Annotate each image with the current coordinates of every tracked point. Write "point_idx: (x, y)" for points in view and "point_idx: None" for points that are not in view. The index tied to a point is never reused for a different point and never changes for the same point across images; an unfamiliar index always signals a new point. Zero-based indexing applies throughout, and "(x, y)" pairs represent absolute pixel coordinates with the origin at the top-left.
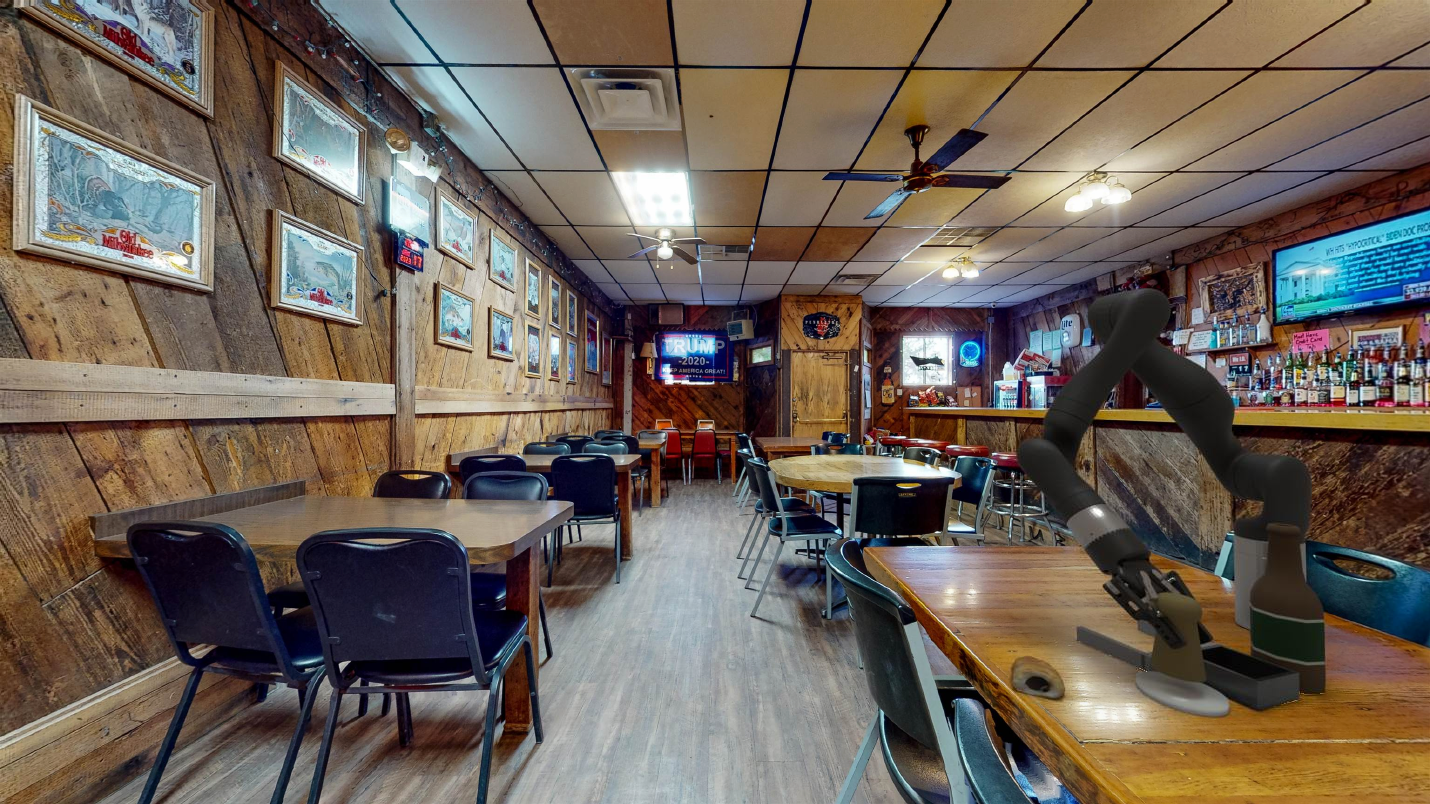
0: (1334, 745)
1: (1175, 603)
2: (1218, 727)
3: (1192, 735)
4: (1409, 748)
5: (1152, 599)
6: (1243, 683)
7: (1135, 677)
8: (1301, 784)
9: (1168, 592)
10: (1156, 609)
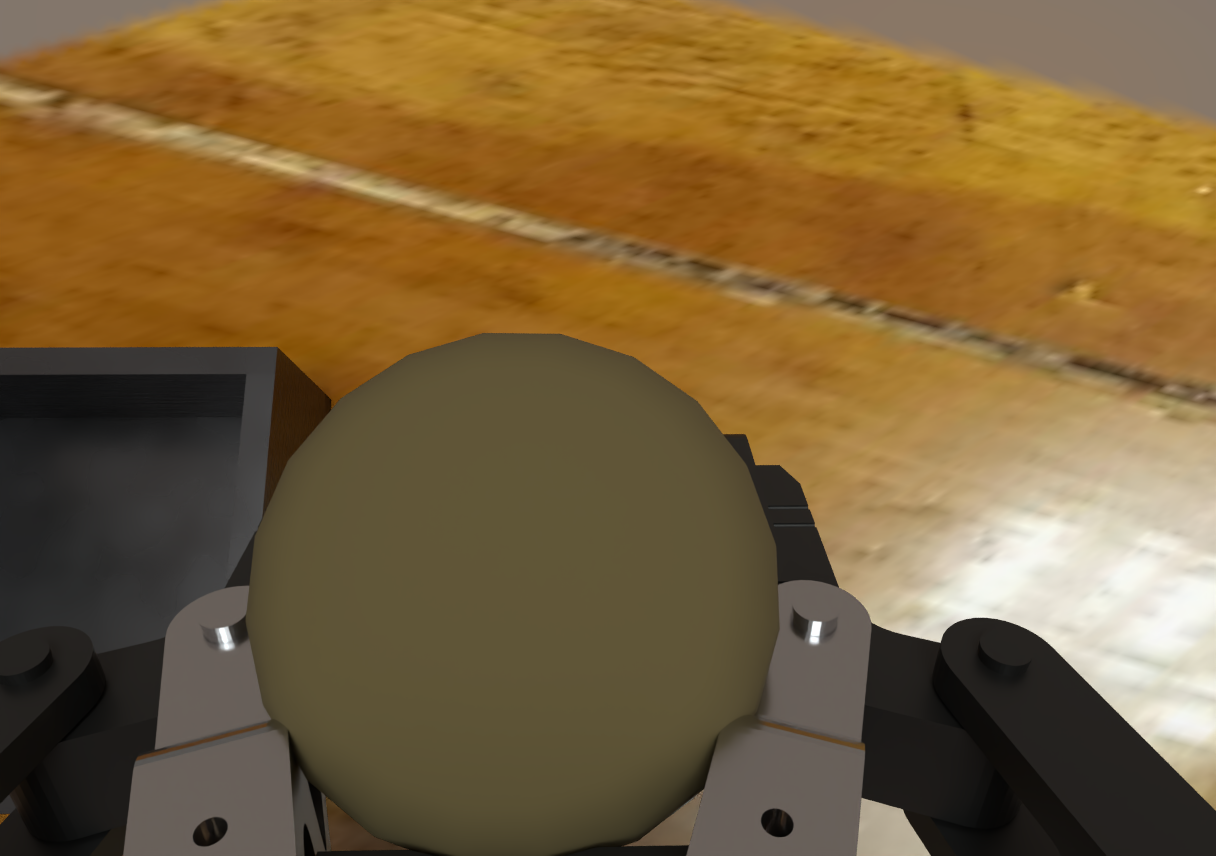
0: (352, 150)
1: (740, 464)
2: (697, 368)
3: (893, 361)
4: (74, 58)
5: (840, 738)
6: (288, 423)
7: (680, 807)
8: (812, 60)
9: (301, 845)
10: (834, 654)
